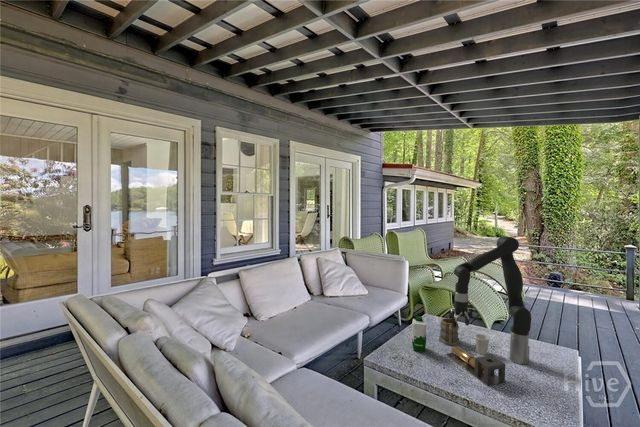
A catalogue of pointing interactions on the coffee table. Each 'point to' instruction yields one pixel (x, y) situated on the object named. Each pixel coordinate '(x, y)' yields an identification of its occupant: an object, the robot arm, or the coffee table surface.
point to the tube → (465, 357)
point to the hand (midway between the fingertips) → (460, 325)
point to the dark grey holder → (489, 370)
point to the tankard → (448, 332)
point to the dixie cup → (482, 343)
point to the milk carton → (419, 334)
